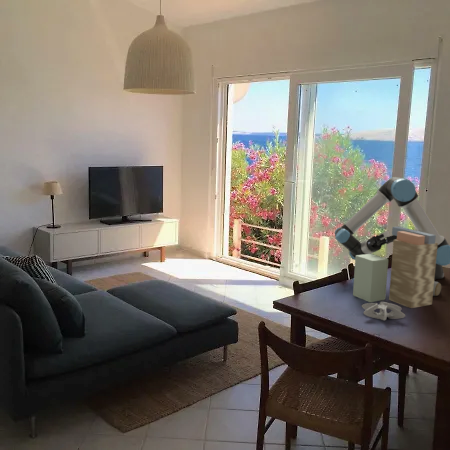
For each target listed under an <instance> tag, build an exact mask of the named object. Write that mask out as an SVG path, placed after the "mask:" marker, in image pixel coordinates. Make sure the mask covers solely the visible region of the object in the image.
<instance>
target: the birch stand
mask: <svg viewBox="0 0 450 450" xmlns="http://www.w3.org/2000/svg"><path fill="white" fill-rule="evenodd" d="M392 244H393V245H392V258H391V270H390V283H389V293H388V296H389V297H388V300H389V301H391V302H394V303H397V304H399V305H401V306H403V307H406V308H409V309H414V308H420V307H425V306H430V305H433V299H434V298H433V297H434V296H433V288H434V281H435V279H434V278H435V267H436V257H437V246H438V243H435V244H426V243H424V245H415V244H411V243H407V242H403V241H399V240H394V242H392Z"/></svg>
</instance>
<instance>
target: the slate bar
mask: <svg viewBox="0 0 450 450" xmlns="http://www.w3.org/2000/svg"><path fill="white" fill-rule="evenodd" d="M399 231H405V232H410V233H414V234H418V235H423V236H425V240H424V243H426V244H435V237H436V235H433V234H428V233H424V232H420V231H417V229H416V230H415V229H412V228H411V229H410V228H409V229H408V228H406V227H402V226H392V230H391V236H392V235H395V236H397V232H399Z"/></svg>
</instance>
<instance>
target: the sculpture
mask: <svg viewBox="0 0 450 450" xmlns="http://www.w3.org/2000/svg"><path fill="white" fill-rule="evenodd" d="M361 307H362V309H364V311H363V315H364V316H366V317H369V318H373V319H377V320H381V321H387V318H388V319H389V320H390V319H393V320H396V319H404V318H406V314H405V313H404V312H402V307H401V306H400V305H397V304H394V303H391V302H386V301H379V304H378V303H377V302H368V303H364V304H362V305H361ZM377 309H379V312H377V311H375V310H377ZM387 309H388V310H391V311H390V312H387Z"/></svg>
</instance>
